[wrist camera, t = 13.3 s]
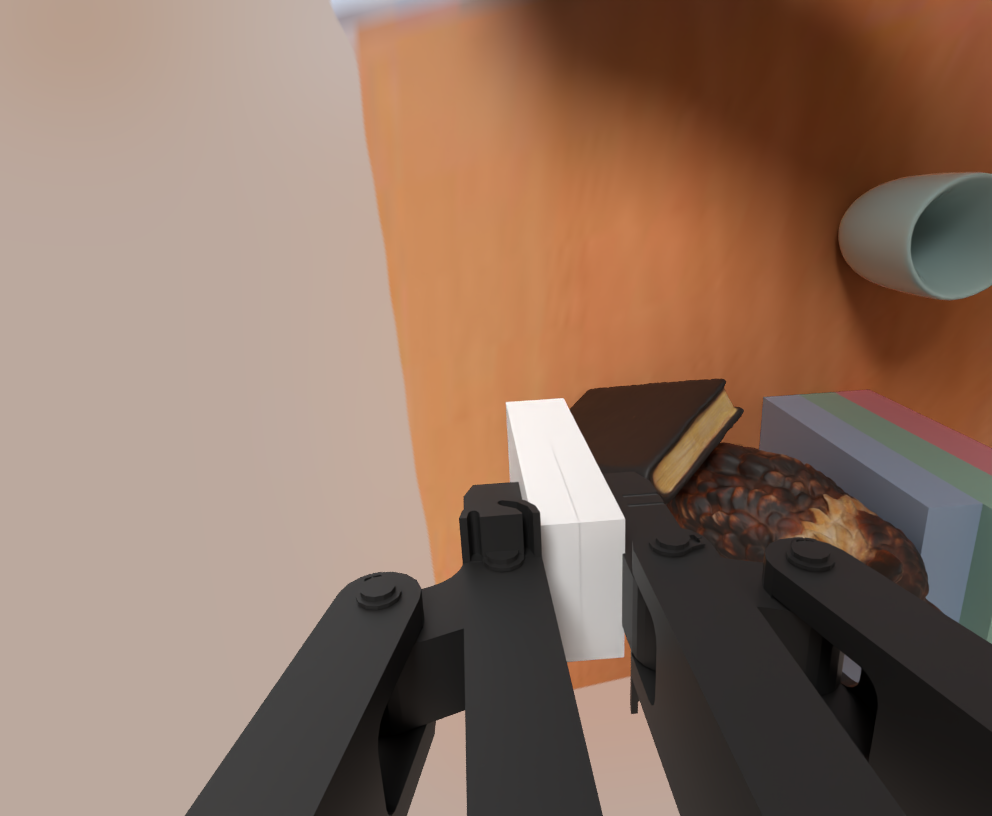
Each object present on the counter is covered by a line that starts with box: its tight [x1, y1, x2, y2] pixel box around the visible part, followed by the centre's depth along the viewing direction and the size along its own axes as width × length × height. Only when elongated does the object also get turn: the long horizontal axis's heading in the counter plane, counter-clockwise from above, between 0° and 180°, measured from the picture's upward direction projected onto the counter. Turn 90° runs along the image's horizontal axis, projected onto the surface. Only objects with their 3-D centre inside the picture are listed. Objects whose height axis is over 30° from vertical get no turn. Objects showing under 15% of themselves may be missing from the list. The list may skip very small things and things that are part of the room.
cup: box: [838, 172, 992, 301], centre depth 45 cm, size 8×8×10 cm
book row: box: [759, 390, 992, 683], centre depth 46 cm, size 16×9×22 cm, turn 3°
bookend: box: [569, 379, 943, 613], centre depth 43 cm, size 15×11×25 cm
